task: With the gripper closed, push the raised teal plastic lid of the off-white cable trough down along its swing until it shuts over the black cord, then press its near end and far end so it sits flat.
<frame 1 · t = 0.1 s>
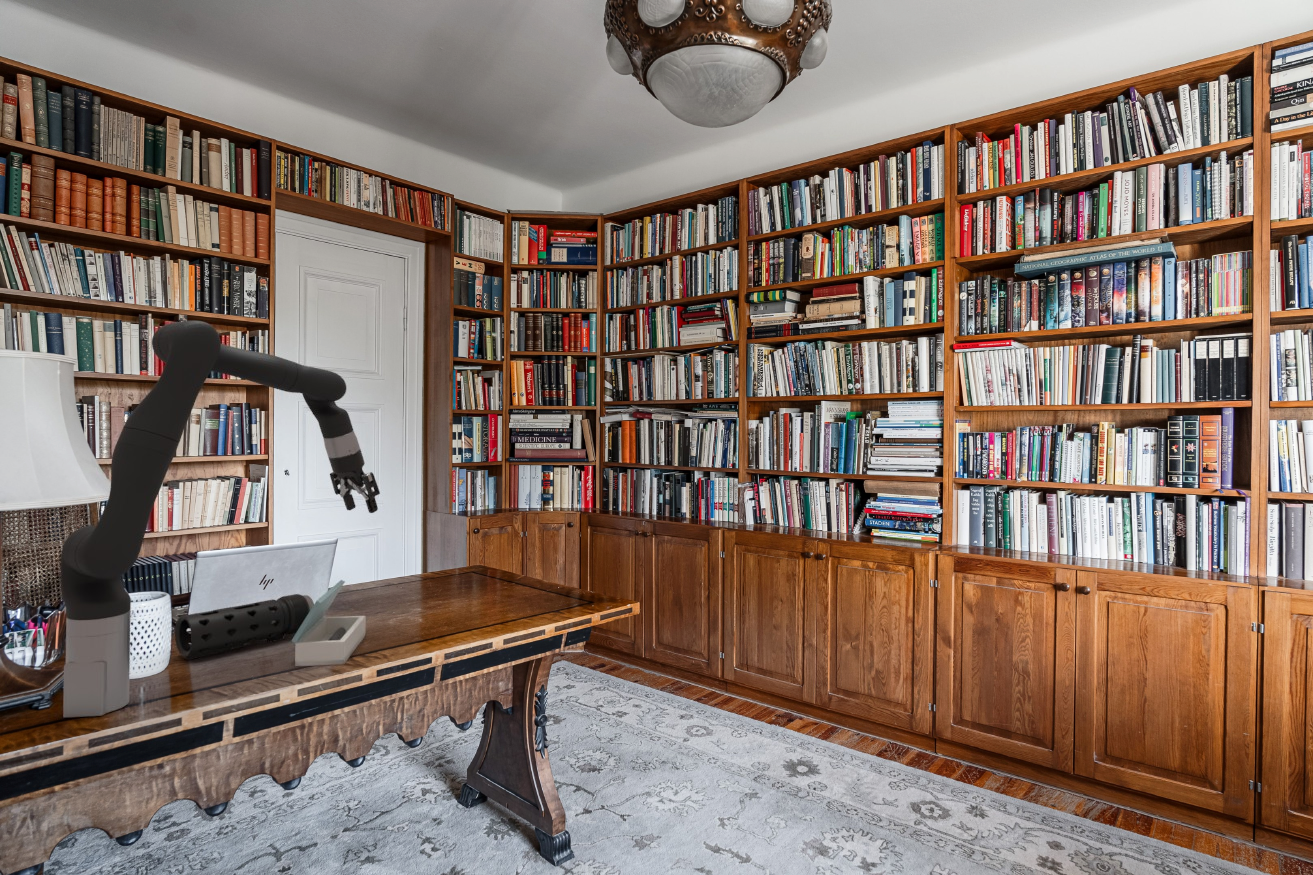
hand: (362, 510, 178), 31 cm above the table, tool tilted 20°, fingers open, 8 cm apart
trough lid: (319, 609, 164), point 10 cm above the table, hinge at 60.0°
muzzle brake: (249, 647, 166), on the table
cable trough: (332, 649, 164), on the table
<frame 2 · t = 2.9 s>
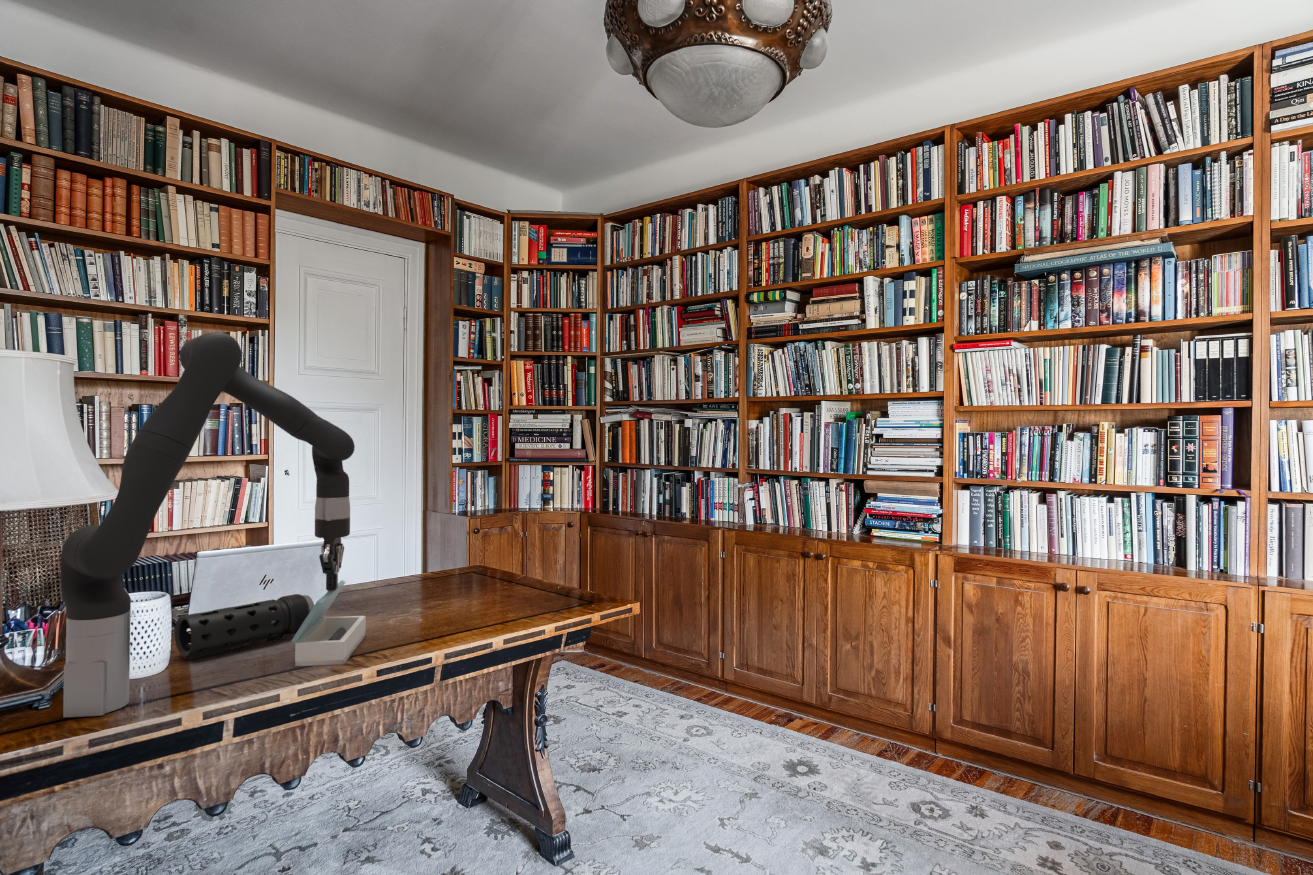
hand: (331, 589, 164), 14 cm above the table, tool pointing down, fingers closed
trough lid: (320, 609, 164), point 10 cm above the table, hinge at 59.0°, touching gripper
everything else where it was.
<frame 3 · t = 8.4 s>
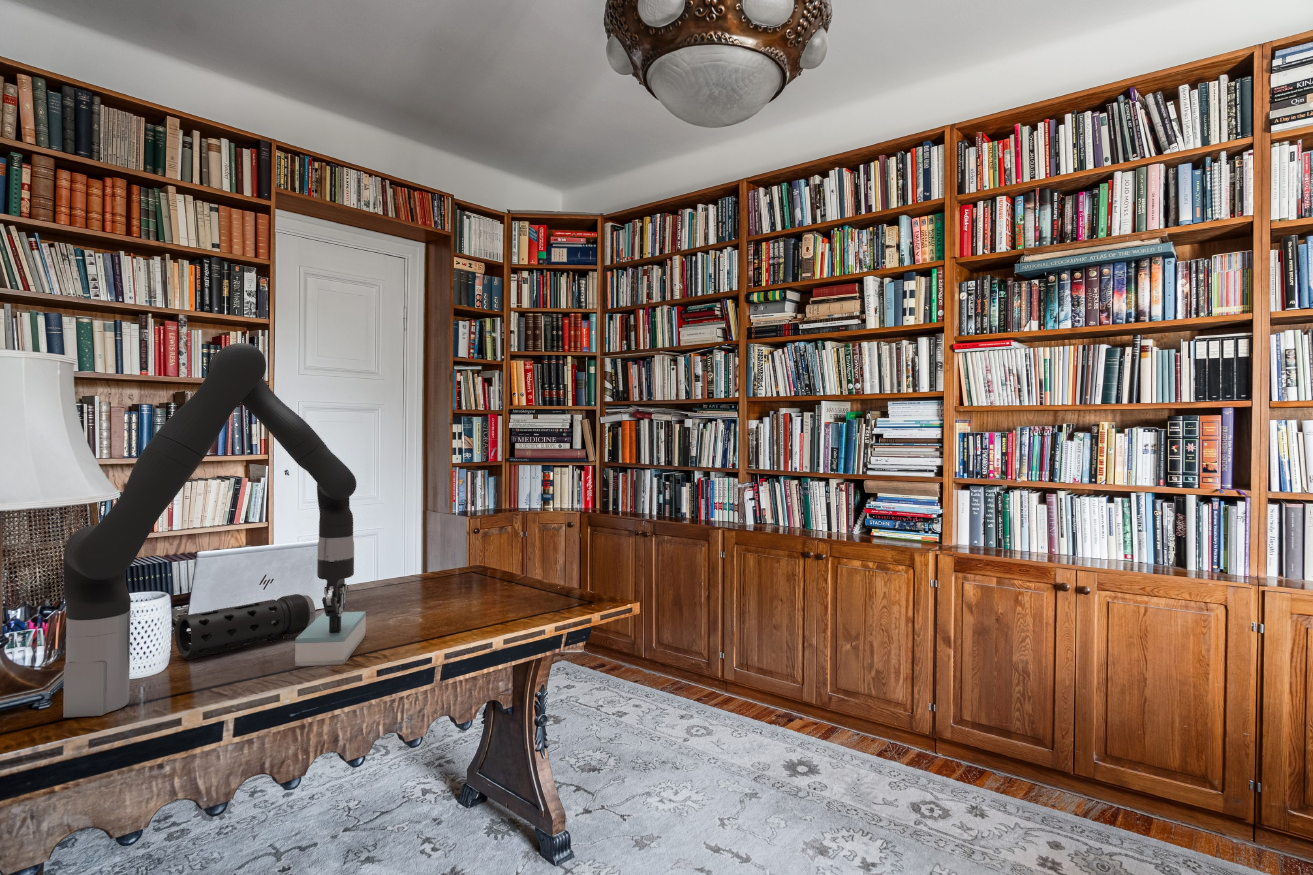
hand: (335, 632, 158), 6 cm above the table, tool pointing down, fingers closed
trough lid: (333, 626, 164), point 6 cm above the table, hinge at 0.2°, touching gripper
everything else where it was.
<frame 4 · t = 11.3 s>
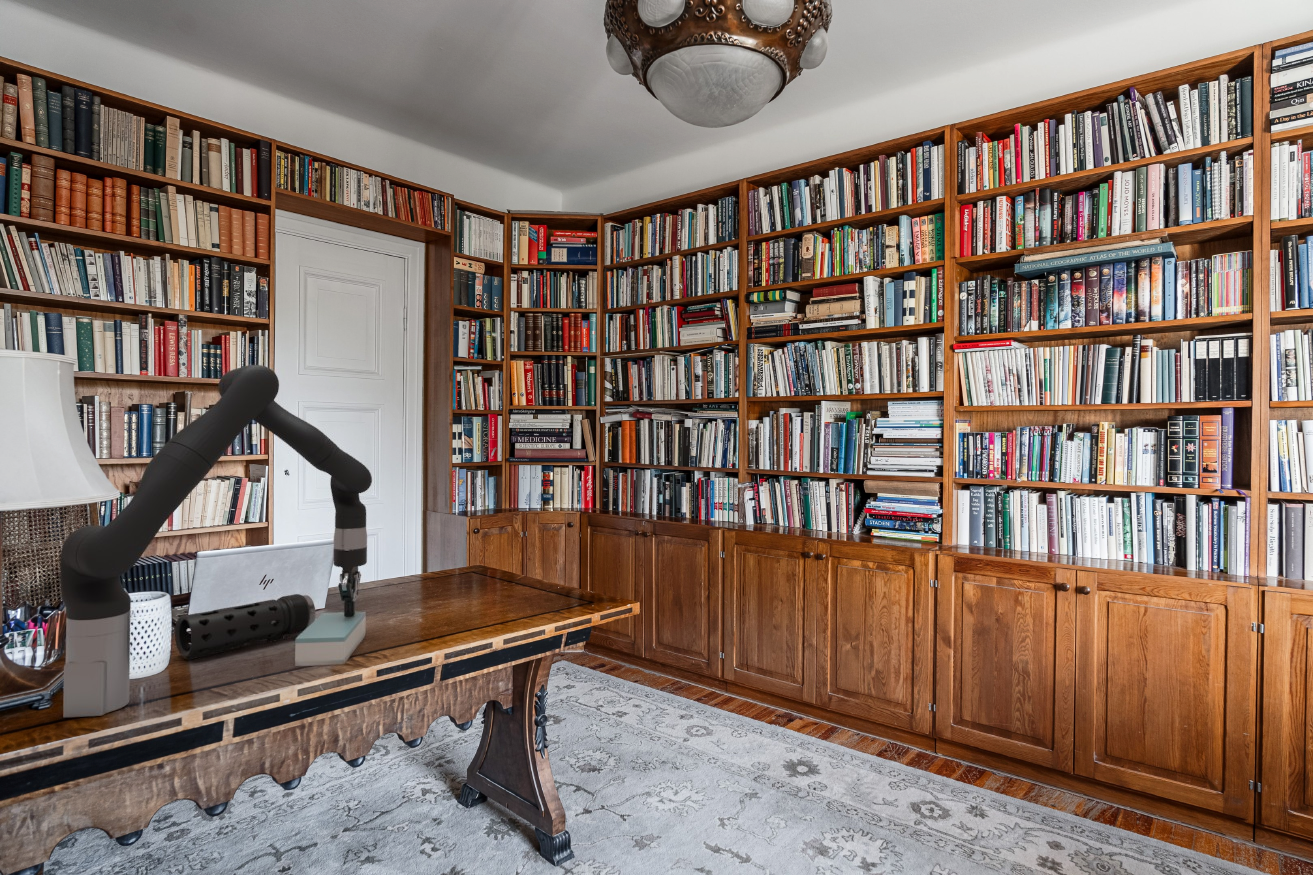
hand: (349, 615, 172), 6 cm above the table, tool pointing down, fingers closed
trough lid: (333, 626, 164), point 6 cm above the table, hinge at -0.4°, touching cable trough, gripper
everything else where it was.
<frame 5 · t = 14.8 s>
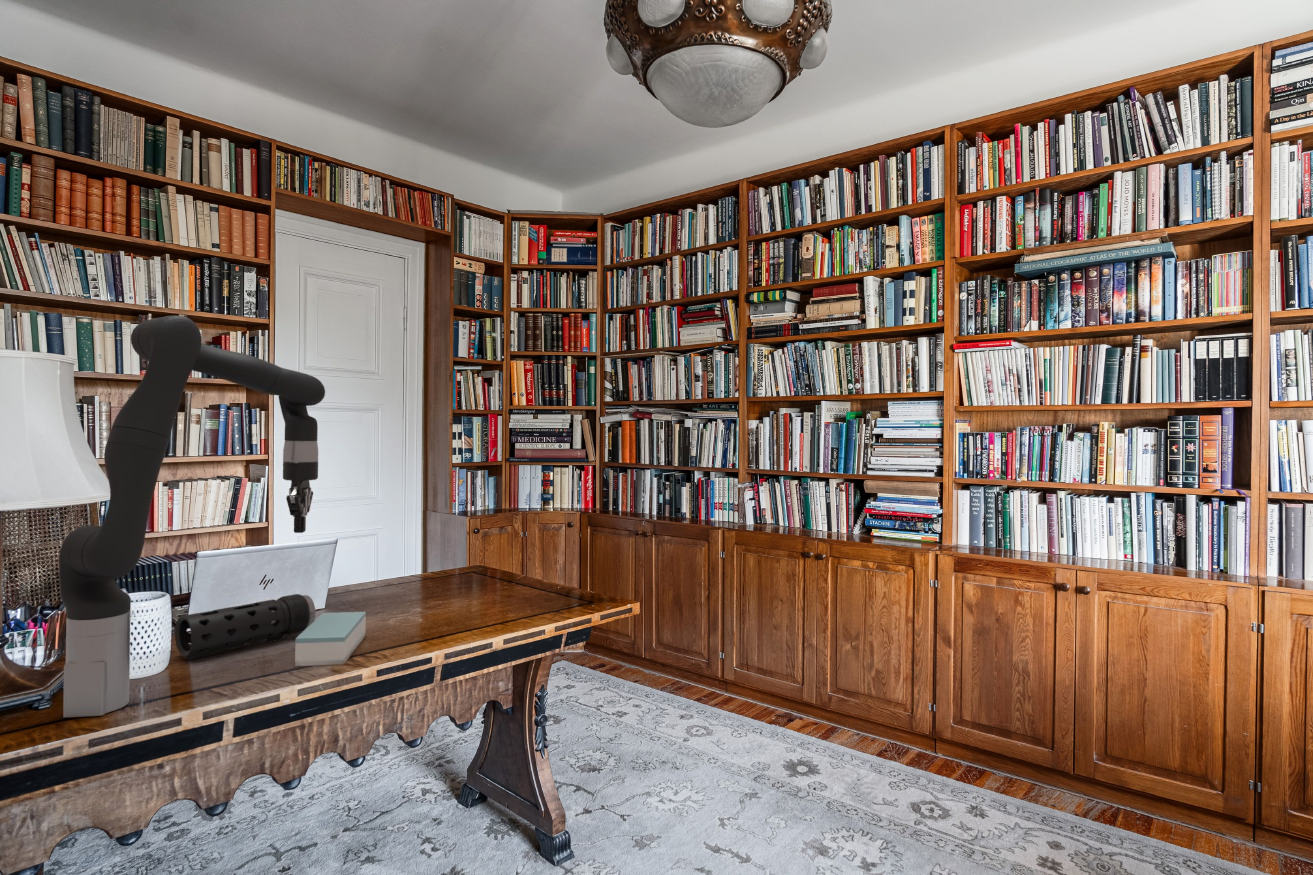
hand: (299, 532, 167), 27 cm above the table, tool pointing down, fingers closed
trough lid: (333, 626, 164), point 6 cm above the table, hinge at -0.4°, touching cable trough
everything else where it was.
at the end: trough lid at +0° (first picture: +60°); muzzle brake moved 0.4 cm from its start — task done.
